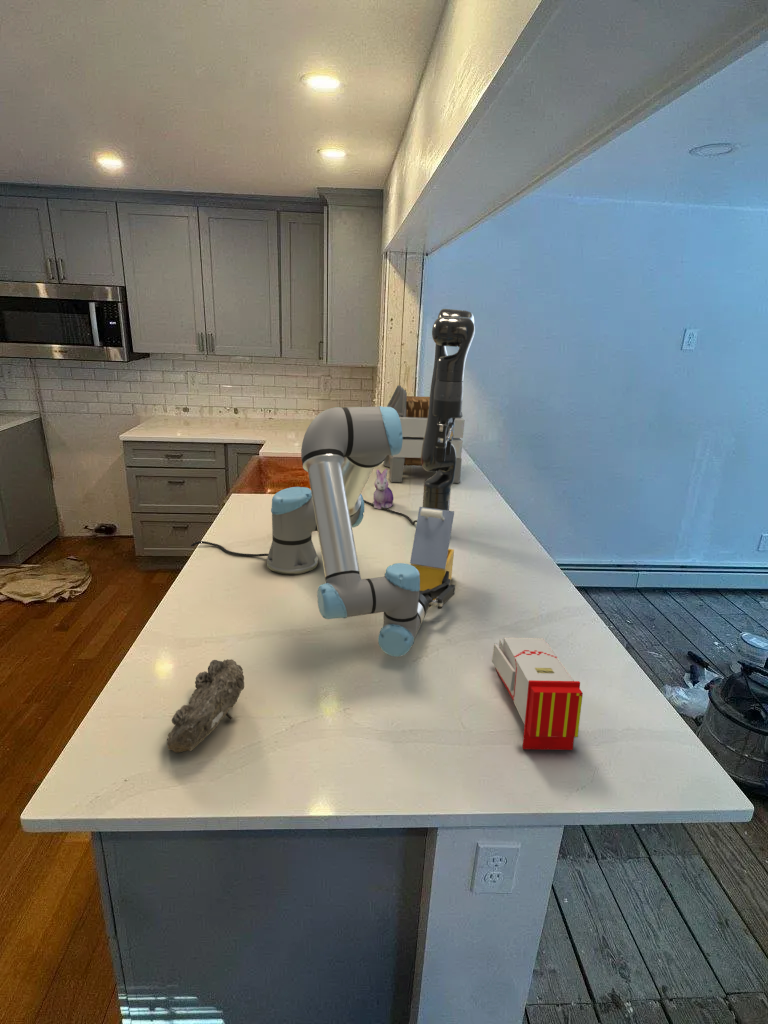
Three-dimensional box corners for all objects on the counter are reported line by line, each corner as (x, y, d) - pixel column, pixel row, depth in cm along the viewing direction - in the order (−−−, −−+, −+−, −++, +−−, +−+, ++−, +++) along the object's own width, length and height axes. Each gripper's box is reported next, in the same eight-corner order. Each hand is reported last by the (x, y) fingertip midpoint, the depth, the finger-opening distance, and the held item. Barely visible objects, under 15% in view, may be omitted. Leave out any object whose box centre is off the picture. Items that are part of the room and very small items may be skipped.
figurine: (377, 511, 221) (379, 474, 216) (366, 503, 229) (367, 467, 224) (399, 508, 225) (401, 471, 220) (387, 500, 233) (388, 465, 228)
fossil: (192, 660, 117) (244, 628, 112) (224, 691, 120) (276, 661, 115) (142, 746, 98) (202, 712, 93) (182, 779, 101) (242, 748, 96)
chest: (419, 573, 170) (421, 544, 167) (451, 578, 168) (454, 549, 165) (408, 596, 157) (410, 565, 154) (442, 602, 155) (444, 570, 151)
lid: (420, 507, 156) (414, 500, 148) (454, 511, 154) (450, 505, 146) (410, 563, 154) (404, 559, 145) (445, 569, 152) (441, 565, 143)
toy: (540, 621, 128) (592, 689, 99) (535, 675, 131) (584, 757, 102) (487, 620, 128) (523, 687, 98) (483, 674, 130) (517, 756, 101)
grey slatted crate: (382, 463, 289) (386, 382, 275) (445, 464, 293) (451, 384, 279) (390, 482, 257) (394, 392, 243) (460, 483, 261) (468, 394, 247)
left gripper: (365, 616, 140) (389, 578, 160) (454, 633, 135) (467, 591, 155) (366, 589, 138) (390, 554, 158) (457, 605, 132) (470, 566, 152)
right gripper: (458, 402, 141) (452, 466, 146) (466, 395, 154) (461, 453, 159) (428, 400, 143) (424, 462, 148) (439, 393, 156) (434, 450, 161)
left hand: (429, 572), depth 156 cm, fingers closed on chest, 10 cm apart
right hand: (443, 458), depth 154 cm, fingers open, 8 cm apart
